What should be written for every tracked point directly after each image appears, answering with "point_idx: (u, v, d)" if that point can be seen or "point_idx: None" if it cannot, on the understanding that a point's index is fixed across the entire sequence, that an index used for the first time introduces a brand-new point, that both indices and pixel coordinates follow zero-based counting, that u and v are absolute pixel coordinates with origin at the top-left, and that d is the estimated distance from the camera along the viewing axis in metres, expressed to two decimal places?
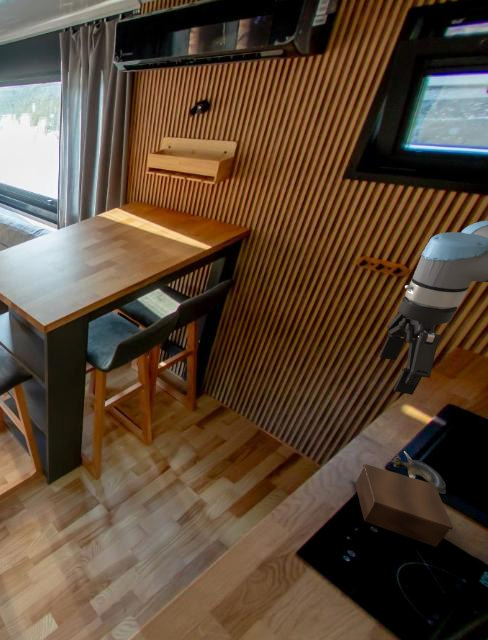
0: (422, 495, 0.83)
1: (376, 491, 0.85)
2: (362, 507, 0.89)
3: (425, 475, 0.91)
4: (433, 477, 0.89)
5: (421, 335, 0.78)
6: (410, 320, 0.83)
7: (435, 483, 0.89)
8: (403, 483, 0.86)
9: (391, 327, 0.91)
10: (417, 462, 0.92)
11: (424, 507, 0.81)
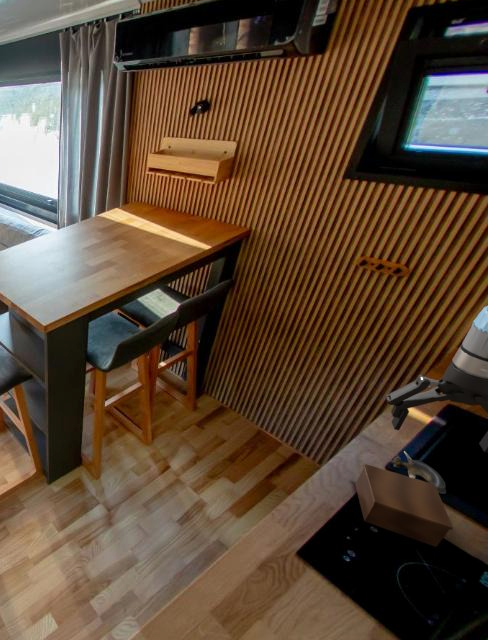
0: (422, 495, 0.83)
1: (376, 491, 0.85)
2: (362, 507, 0.89)
3: (425, 475, 0.91)
4: (433, 477, 0.89)
5: None
6: (464, 392, 0.80)
7: (435, 483, 0.89)
8: (403, 483, 0.86)
9: None
10: (417, 462, 0.92)
11: (424, 507, 0.81)
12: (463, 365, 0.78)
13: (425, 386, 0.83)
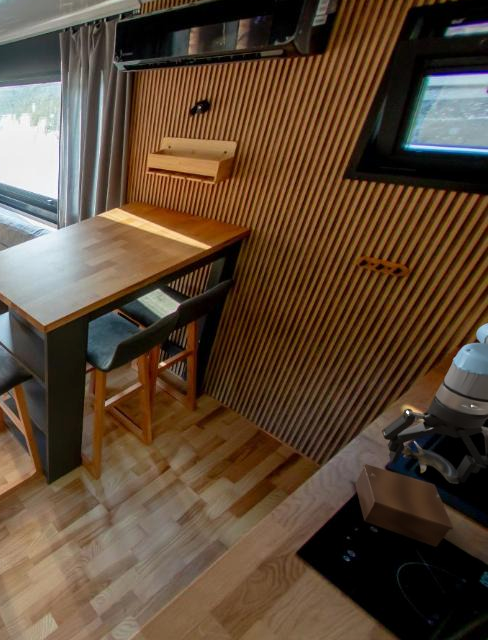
0: (422, 495, 0.83)
1: (376, 491, 0.85)
2: (362, 507, 0.89)
3: (436, 465, 0.88)
4: (445, 467, 0.87)
5: None
6: (447, 424, 0.84)
7: (447, 473, 0.86)
8: (403, 483, 0.86)
9: None
10: (428, 452, 0.90)
11: (424, 507, 0.81)
12: (445, 400, 0.82)
13: (411, 420, 0.87)
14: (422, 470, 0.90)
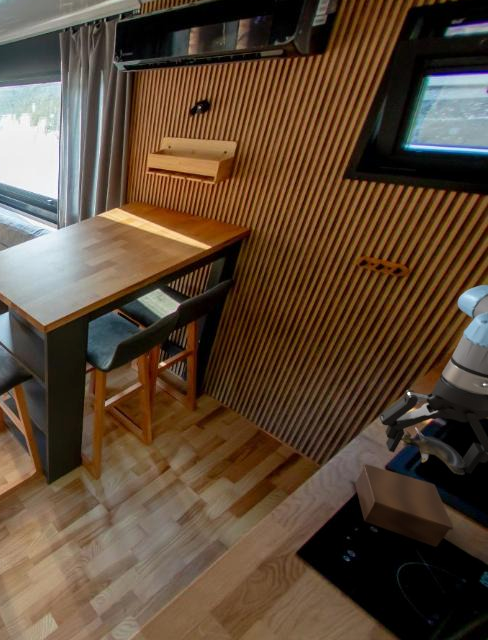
0: (422, 495, 0.83)
1: (376, 491, 0.85)
2: (362, 507, 0.89)
3: (440, 453, 0.78)
4: (450, 455, 0.77)
5: None
6: (454, 407, 0.74)
7: (452, 462, 0.76)
8: (403, 483, 0.86)
9: None
10: (431, 439, 0.80)
11: (424, 507, 0.81)
12: (453, 379, 0.72)
13: (413, 402, 0.77)
14: (423, 459, 0.80)
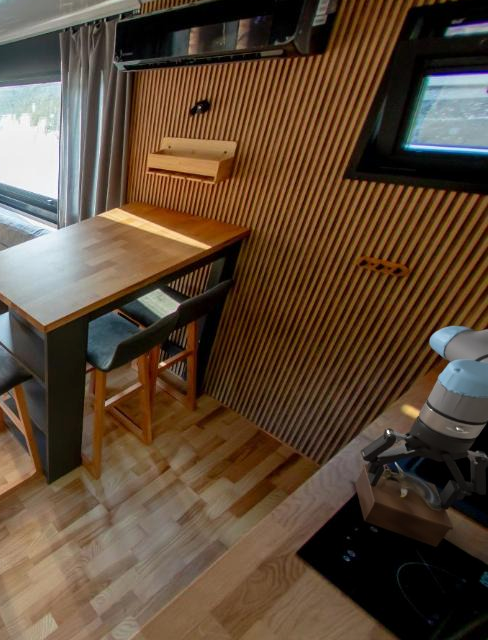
0: None
1: (376, 491, 0.85)
2: (362, 507, 0.89)
3: (418, 490, 0.81)
4: (427, 492, 0.80)
5: (487, 463, 0.72)
6: (430, 447, 0.77)
7: (429, 499, 0.79)
8: None
9: None
10: (409, 475, 0.83)
11: (424, 507, 0.81)
12: (429, 421, 0.74)
13: (392, 441, 0.80)
14: (403, 494, 0.83)
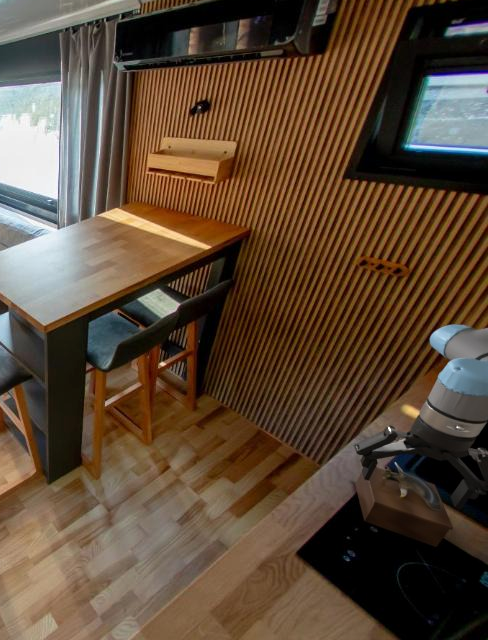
0: None
1: (376, 491, 0.85)
2: (362, 507, 0.89)
3: (418, 490, 0.81)
4: (427, 492, 0.80)
5: None
6: (431, 446, 0.76)
7: (429, 499, 0.79)
8: None
9: None
10: (409, 475, 0.83)
11: (424, 507, 0.81)
12: (429, 420, 0.74)
13: (392, 438, 0.80)
14: (402, 494, 0.83)
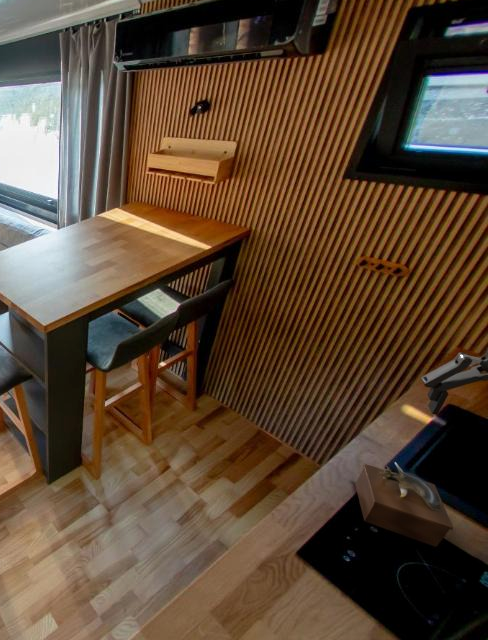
0: None
1: (376, 491, 0.85)
2: (362, 507, 0.89)
3: (418, 490, 0.81)
4: (427, 492, 0.80)
5: None
6: None
7: (429, 499, 0.79)
8: None
9: None
10: (409, 475, 0.83)
11: (424, 507, 0.81)
12: None
13: (466, 364, 0.76)
14: (402, 494, 0.83)
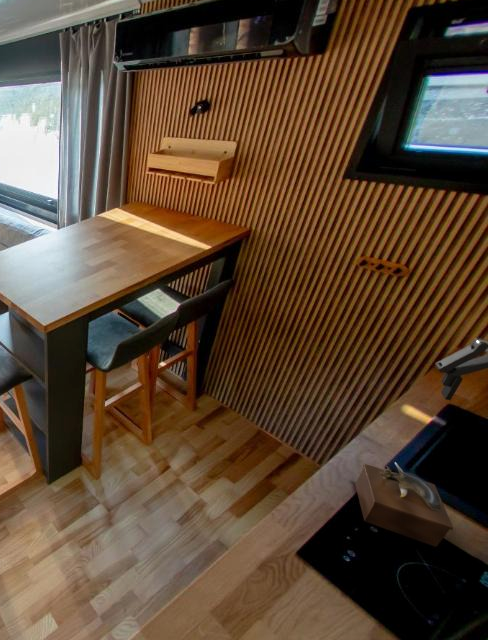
0: None
1: (376, 491, 0.85)
2: (362, 507, 0.89)
3: (418, 490, 0.81)
4: (427, 492, 0.80)
5: None
6: None
7: (429, 499, 0.79)
8: None
9: None
10: (409, 475, 0.83)
11: (424, 507, 0.81)
12: None
13: (482, 349, 0.77)
14: (402, 494, 0.83)
